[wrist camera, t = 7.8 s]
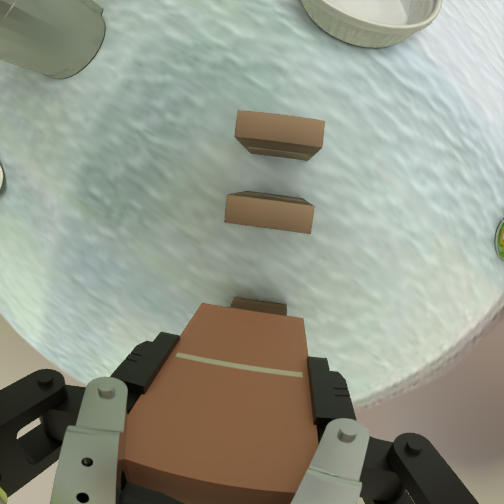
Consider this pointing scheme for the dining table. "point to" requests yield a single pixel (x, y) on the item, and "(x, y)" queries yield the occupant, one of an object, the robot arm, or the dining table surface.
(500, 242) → the supplement bottle
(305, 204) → the domino
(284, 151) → the domino
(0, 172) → the spread jar
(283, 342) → the domino
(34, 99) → the dining table surface
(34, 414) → the robot arm
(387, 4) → the ramekin
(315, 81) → the dining table surface
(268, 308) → the domino
